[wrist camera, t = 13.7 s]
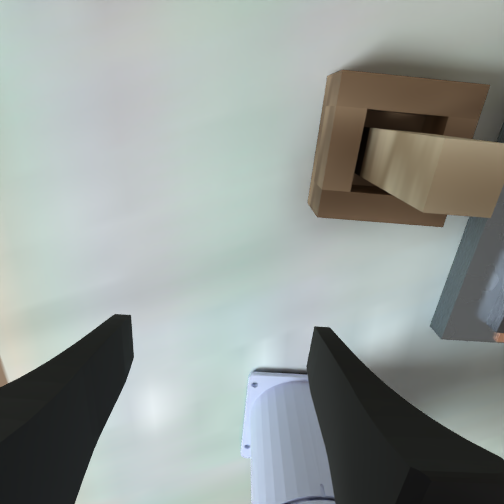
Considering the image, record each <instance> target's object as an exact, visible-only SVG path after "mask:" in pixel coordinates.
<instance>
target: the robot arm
mask: <svg viewBox="0 0 504 504" xmlns="http://www.w3.org/2000/svg"><path fill="white" fill-rule="evenodd" d="M133 358H134V353H133V338H132V324H131V315H120V314H115V315H113V316H112V317H110V318H109V319H108V320H106V321H105V322H104V323H102V324H101V325H100V326H98V327H97V328H96V329H94V330H93V331H92V332H90V333H89V334H87V335H86V336H85V337H83V338H82V339H81V340H79V341H78V342H76V343H75V344H74V345H72V346H71V347H69V348H68V349H66V350H65V351H63V352H62V353H60V354H59V355H57V356H56V357H54V358H53V359H51V360H50V361H48V362H46V363H45V364H43V365H41V366H40V367H38V368H36V369H34V370H33V371H31V372H29V373H27V374H26V375H24V376H22V377H20V378H18V379H16V380H14V381H12V382H10V383H8V384H6V385H4V386H2V387H0V504H75V501H76V498H77V495H78V492H79V490H80V487H81V484H82V481H83V478H84V475H85V473H86V470H87V467H88V464H89V462H90V459H91V456H92V453H93V451H94V448H95V446H96V444H97V441H98V439H99V437H100V435H101V432H102V430H103V428H104V426H105V424H106V422H107V420H108V418H109V416H110V414H111V412H112V410H113V407H114V405H115V403H116V401H117V399H118V397H119V395H120V393H121V391H122V389H123V386H124V384H125V382H126V379H127V377H128V374H129V371H130V368H131V364H132V361H133ZM307 373H308V375H307V374H288V373H270V372H252V373H250V374H249V379H248V388H247V397H246V407H245V416H244V425H243V434H242V444H241V456H242V457H244V458H251V504H504V460H503V459H502V458H501V457H499V456H497V455H495V454H493V453H491V452H489V451H488V450H486V449H484V448H482V447H480V446H478V445H476V444H474V443H472V442H470V441H468V440H466V439H465V438H463V437H461V436H459V435H458V434H456V433H454V432H453V431H451V430H449V429H448V428H446V427H444V426H443V425H441V424H440V423H438V422H436V421H435V420H433V419H432V418H430V417H429V416H427V415H426V414H424V413H423V412H421V411H420V410H419V409H417V408H416V407H414V406H413V405H411V404H410V403H409V402H407V401H406V400H405V399H403V398H402V397H401V396H400V395H398V394H397V393H396V392H395V391H393V390H392V389H391V388H390V387H388V386H387V385H386V384H385V383H384V382H383V381H381V380H380V379H379V378H378V377H377V376H376V375H375V374H374V373H373V372H372V371H371V370H370V369H368V368H367V367H366V366H365V365H364V364H363V363H362V362H361V361H360V360H359V359H358V358H357V356H356V355H355V354H354V353H353V352H352V351H351V350H350V349H349V348H348V347H347V346H346V345H345V344H344V343H343V341H342V340H341V339H340V338H339V337H338V336H337V335H336V334H335V333H334V332H333V330H332V329H331V328H330V327H314V332H313V337H312V342H311V347H310V352H309V357H308V362H307ZM254 382H256V384H253V383H254Z"/></svg>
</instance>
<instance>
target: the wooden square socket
mask: <svg viewBox="0 0 504 504" xmlns="http://www.w3.org/2000/svg"><path fill="white" fill-rule="evenodd" d="M489 87H490V85H486V84H476V83H466V82H457V81H447V80H437V79H428V78H418V77H408V76H398V75H389V74H379V73H369V72H359V71H350V70H341V71H338V72H336V73H334V74H331V75H329V76H327V82H326V88H325V95H324V101H323V107H322V114H321V120H320V127H319V133H318V139H317V146H316V152H315V158H314V165H313V171H312V177H311V184H310V190H309V197H308V204H309V206H310V207H311V209H312V210H313V212H314V213H315V215H316V216H317V217H321V218H333V219H346V220H359V221H371V222H384V223H397V224H409V225H422V226H435V227H443V225H444V222H445V219H446V216H447V214H434V213H423V212H421V211H419V210H418V209H416V208H414V207H412V206H411V205H409V204H407V203H405V202H404V201H402V200H400V199H398V198H397V197H395V196H393V195H392V194H390V193H388V192H386V191H385V190H383V189H381V188H379V187H378V186H376V185H374V184H372V183H371V182H369V181H367V180H366V179H364V178H362V177H360V176H359V175H357V174H355V173H354V171H355V167H356V162H357V157H358V152H359V147H360V142H361V138H362V133H363V128H364V127H371V128H382V129H392V130H403V131H412V132H420V133H428V134H436V135H444V136H451V137H459V138H467V139H472V138H473V135H474V132H475V129H476V126H477V123H478V120H479V117H480V114H481V111H482V108H483V105H484V102H485V99H486V96H487V93H488V90H489Z"/></svg>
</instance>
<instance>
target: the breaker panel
mask: <svg viewBox="0 0 504 504" xmlns="http://www.w3.org/2000/svg"><path fill="white" fill-rule="evenodd" d="M497 142H498V143H504V124H503V126H502V129H501V132H500V135H499V137H498V140H497ZM430 327H431V328H432V329H433V330H434V331H435V332H436V334H437V335H438V336H439V337H440V338H441V339H447V340H464V341H480V342H496V343H504V185H503V188H502V190H501V193H500V195H499V198H498V200H497V203H496V206H495V208H494V211H493V213H492V216H491V218H484V217H471V216H470V217H469V220H468V223H467V226H466V228H465V231H464V234H463V237H462V239H461V242H460V245H459V248H458V251H457V253H456V256H455V259H454V262H453V264H452V267H451V270H450V273H449V275H448V278H447V281H446V284H445V286H444V289H443V292H442V295H441V297H440V300H439V303H438V306H437V308H436V311H435V314H434V317H433V320H432V322H431V325H430Z"/></svg>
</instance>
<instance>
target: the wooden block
mask: <svg viewBox="0 0 504 504" xmlns="http://www.w3.org/2000/svg"><path fill="white" fill-rule="evenodd" d="M354 173H355V174H357V175H359V176H360V177H362V178H364V179H366V180H367V181H369V182H371V183H372V184H374V185H376V186H378V187H379V188H381V189H383V190H385V191H386V192H388V193H390V194H392V195H393V196H395V197H397V198H398V199H400V200H402V201H404V202H405V203H407V204H409V205H411V206H412V207H414V208H416V209H418V210H419V211H421V212H423V213H434V214H447V215H459V216H471V217H484V218H491V216H492V213H493V211H494V208H495V206H496V203H497V200H498V198H499V195H500V193H501V190H502V188H503V185H504V143H498V142H491V141H483V140H475V139H467V138H459V137H451V136H444V135H436V134H428V133H420V132H412V131H403V130H392V129H382V128H371V127H364V128H363V133H362V138H361V142H360V147H359V152H358V157H357V162H356V167H355V171H354Z"/></svg>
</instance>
